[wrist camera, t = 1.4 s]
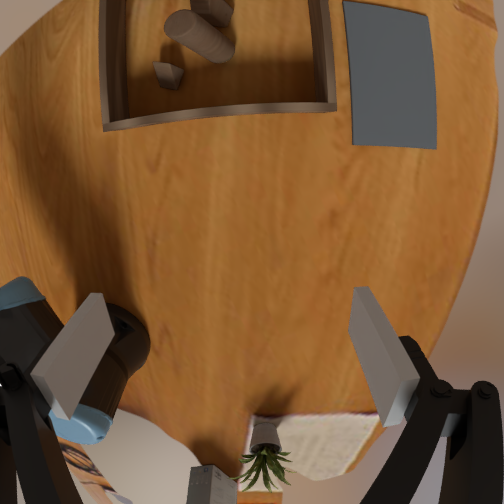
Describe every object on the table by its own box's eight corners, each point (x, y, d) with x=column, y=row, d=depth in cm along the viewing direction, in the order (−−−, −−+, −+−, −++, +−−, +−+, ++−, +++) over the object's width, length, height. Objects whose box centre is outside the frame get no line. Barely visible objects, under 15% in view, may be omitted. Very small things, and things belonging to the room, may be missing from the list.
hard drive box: (189, 466, 73) (182, 524, 55) (213, 463, 72) (208, 524, 54) (216, 486, 79) (213, 538, 61) (238, 483, 78) (237, 537, 59)
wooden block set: (209, -14, 34) (171, -46, 24) (262, -11, 32) (230, -51, 22) (167, 89, 40) (118, 73, 30) (218, 100, 38) (172, 80, 28)
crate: (124, 129, 40) (103, 132, 34) (120, -14, 31) (101, -30, 24) (323, 112, 40) (337, 111, 33) (310, -35, 30) (319, -56, 24)
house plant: (226, 442, 67) (222, 498, 52) (230, 410, 62) (226, 474, 47) (283, 445, 68) (287, 500, 53) (295, 414, 63) (303, 476, 48)
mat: (352, 144, 41) (353, 144, 41) (342, 2, 33) (343, 0, 32) (434, 149, 41) (436, 149, 40) (425, 17, 32) (427, 16, 32)
